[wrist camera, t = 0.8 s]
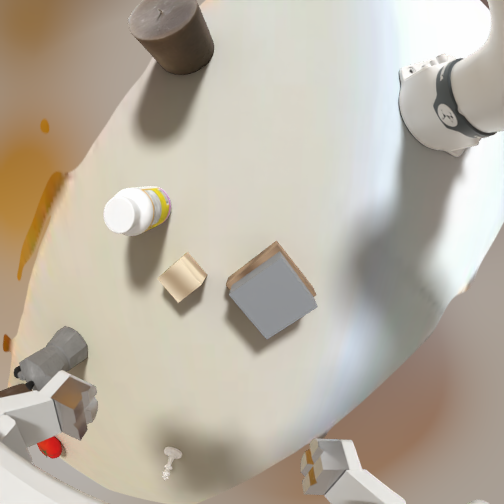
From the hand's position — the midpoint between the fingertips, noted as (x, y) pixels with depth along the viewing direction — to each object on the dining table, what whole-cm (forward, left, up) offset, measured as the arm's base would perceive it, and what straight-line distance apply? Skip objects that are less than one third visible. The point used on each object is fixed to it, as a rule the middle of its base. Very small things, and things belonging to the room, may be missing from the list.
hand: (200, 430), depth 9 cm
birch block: (+12, -2, -39) cm, 41 cm away
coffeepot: (+47, -7, -39) cm, 62 cm away
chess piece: (+51, +31, -39) cm, 72 cm away
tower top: (+2, +8, -35) cm, 36 cm away
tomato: (+96, +11, -39) cm, 105 cm away
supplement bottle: (+9, -14, -39) cm, 42 cm away
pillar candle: (-12, -32, -39) cm, 52 cm away
